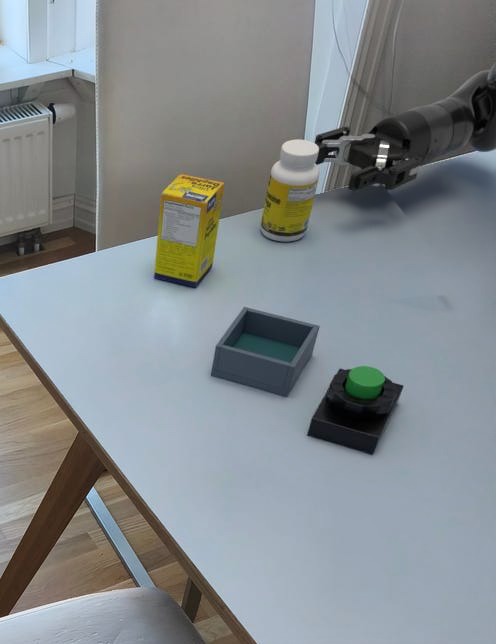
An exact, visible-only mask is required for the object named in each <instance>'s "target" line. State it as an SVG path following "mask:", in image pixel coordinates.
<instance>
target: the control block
mask: <svg viewBox="0 0 496 644" xmlns="http://www.w3.org/2000/svg"><path fill="white" fill-rule="evenodd" d="M352 369H353V368H348V369H344V368H339V369H338V370H337V372H336V374H334V375H333V377H332V379H331V381H330V383H329V386H328V388H327V389H326V393H325V394H324V396H323V397H322V399H321V401H320V403H319V405H318V406H317V407H316V410H315V412H314V413H313V415H312V417H311V420H310V423H309V426H308V430H307V434H306V435H307V436H309V437H313V438H316V439H320V440H323V441H327V442H331V443H333V444H336V445H339V446H343V447H346V448H350V449H354V450H357V451H361V452H364V453H366V454H370V455H374V454H375V451H376V449H377V447H378V445H379V442H380V441H381V438H382V436H383V435H384V432H385V430H386V428H387V426H388V424H389V422H390V420H391V418H392V416H393V413H394V412H395V409H396V407H397V406H398V403H399V400H400V398H401V395H402V392H403V389H404V385H403V384H400V383H396V382H393V380H392V379H390V378H388V377H386V376H385V381H384V384H383V387H382V390H381V393H380V395H379V396H378V397H377V398H375V399H361V398H357V397H353V396H351V395H350V394H348V393H347V392H346V391H345V385H346V381H347V378H348V375H349V372H350V371H351V370H352Z"/></svg>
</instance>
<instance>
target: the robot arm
mask: <svg viewBox="0 0 496 644" xmlns="http://www.w3.org/2000/svg"><path fill="white" fill-rule="evenodd" d="M350 132H351V127H350V126H341V127H338V128H336V129H332V130H329V131H326V132H322V133H319V134H316V135H315V139H314V143H315V144H316V145H317V146H318V147H319V152H318V157H317V161H316V162H315V164H316V165H317V166H319V165H321V164H324V163H335V165H336V166H338V167H348V166H349V167H354V166H355V167H356V168H358V169H359V168H360V169H359V170H356V171H354V172H353V173H352V174H351V176H350V179H349V182H348V186H347V190H349V191H351V192H357V191H359V190H362V189H365V188H367V187H370V186H372V187H379V186H380V185H384V186H383V188H384V189H385V190H386V191H387V190H388V191H392V190H394V189H397V188H398V187H401V186H403V185H405V184H408V183H409V182H412V181H414V180H416V179H417V176H418V173H419V170H420V167H423V166H425V165H428V164H429V163H431V162H432V161H434V160H436V159H438V158H440V157H443V156H445V155H447V154H451V153H453V152H456V151H457V150H459V149H461V148H462V147H463V146H465V145H466V144H467V143H468V145H469V146H470V147H471V148H472V149H473V150H474V151H476V152H480V153H490V152H493V151H495V150H496V61H495V62H494V64H493V65H492V66H491V68H490V69H485V70H481V71H479V72H477V73H475V74H473V75H472V76H471V77H469V79H467V80H466V81H465V82H464V83H462V85H460V87H458V88H457V89H456V90H455V91H454V92H453V93H452V94H450V95H448V96H447V97H446V98H443V99H440V100H438V101H435V102H432V103H430V104H426V105H420V106H416V107H413V108H410V109H408V110H405V111H402V112H400V113H397V114H394V115H390V116H388V117H385V118H383V119H382V120H379V121H378V122H377V123H376V124H374V126H373V127H372V128H371V129H370V130H369V132H368V133H362V134H357V135H352V134H350ZM347 147H349V150H348V153H347V157H344V154H345V150H346V148H347ZM333 152H336V153H334V154H331V153H333Z"/></svg>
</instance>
